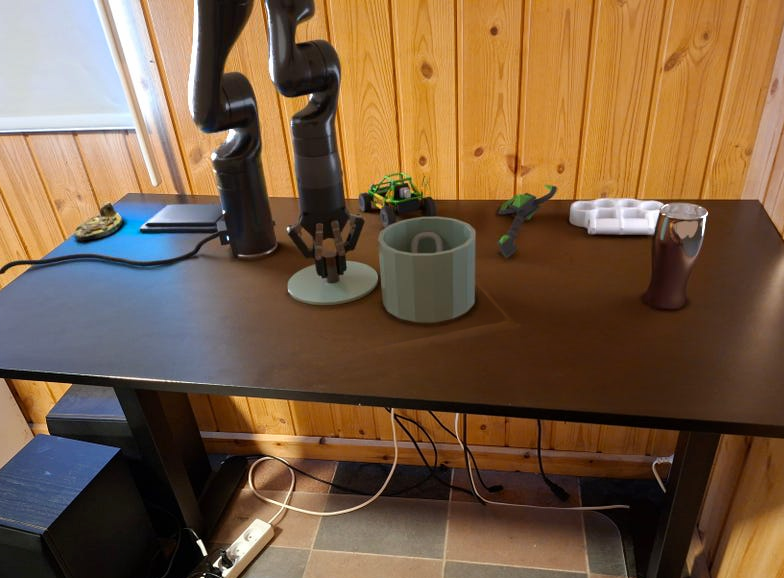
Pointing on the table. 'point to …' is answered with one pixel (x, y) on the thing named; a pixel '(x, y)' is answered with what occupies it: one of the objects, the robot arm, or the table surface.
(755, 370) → the table surface
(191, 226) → the dark grey flat block
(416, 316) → the pot
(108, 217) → the olive oval piece
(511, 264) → the table surface
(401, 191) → the motor vehicle
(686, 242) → the beer glass
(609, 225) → the white flat holed piece
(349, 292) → the pot lid
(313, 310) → the table surface
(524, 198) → the war hammer
